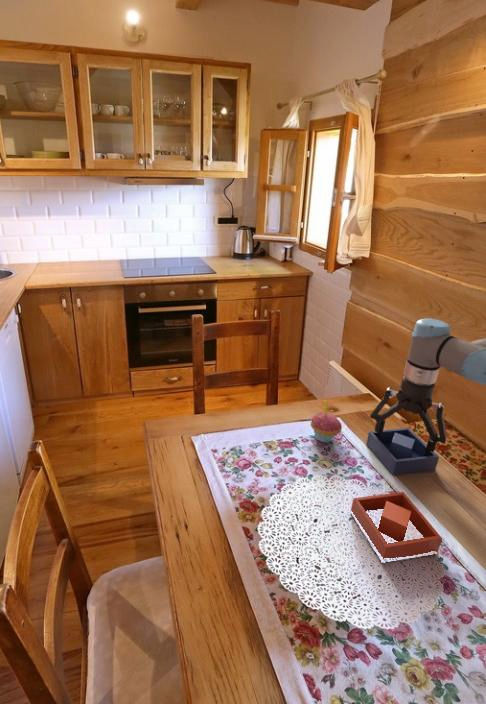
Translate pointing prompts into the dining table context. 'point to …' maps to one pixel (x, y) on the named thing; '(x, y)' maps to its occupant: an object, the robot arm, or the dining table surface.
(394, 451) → the slate block
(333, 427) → the cupcake
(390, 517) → the terracotta block
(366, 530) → the terracotta bin
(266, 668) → the dining table surface
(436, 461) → the slate bin
